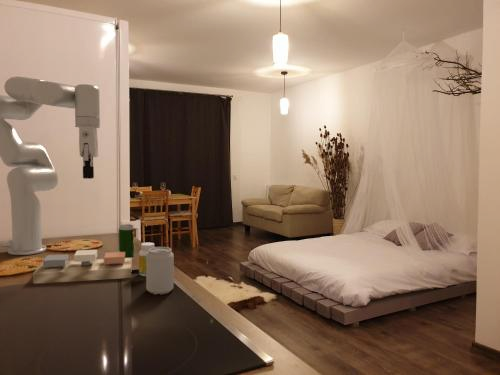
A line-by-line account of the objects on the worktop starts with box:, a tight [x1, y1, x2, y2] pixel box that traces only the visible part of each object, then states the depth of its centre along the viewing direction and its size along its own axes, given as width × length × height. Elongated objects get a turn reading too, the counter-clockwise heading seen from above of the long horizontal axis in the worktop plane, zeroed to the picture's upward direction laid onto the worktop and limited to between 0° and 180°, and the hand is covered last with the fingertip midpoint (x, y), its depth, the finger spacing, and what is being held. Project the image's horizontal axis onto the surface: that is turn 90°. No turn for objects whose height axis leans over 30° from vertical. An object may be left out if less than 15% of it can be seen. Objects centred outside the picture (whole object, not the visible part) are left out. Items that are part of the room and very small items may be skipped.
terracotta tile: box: [103, 251, 125, 265], centre depth 125 cm, size 6×6×4 cm
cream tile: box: [73, 249, 98, 265], centre depth 123 cm, size 6×6×4 cm
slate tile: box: [42, 253, 70, 268], centre depth 121 cm, size 6×6×4 cm
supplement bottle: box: [138, 242, 155, 277], centre depth 125 cm, size 5×5×10 cm
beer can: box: [117, 223, 135, 260], centre depth 141 cm, size 5×5×12 cm
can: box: [145, 246, 175, 295], centre depth 111 cm, size 8×8×12 cm
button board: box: [32, 258, 133, 285], centre depth 123 cm, size 27×12×3 cm, turn 106°
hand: (88, 178), depth 133 cm, fingers closed
